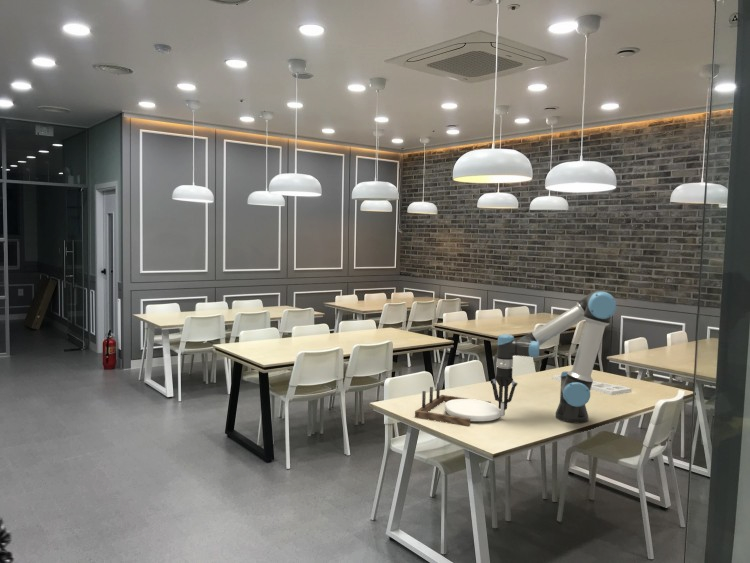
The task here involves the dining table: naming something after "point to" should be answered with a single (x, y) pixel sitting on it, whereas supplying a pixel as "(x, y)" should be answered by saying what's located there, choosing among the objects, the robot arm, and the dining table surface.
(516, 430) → the dining table surface
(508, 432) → the dining table surface
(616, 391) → the holder
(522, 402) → the dining table surface
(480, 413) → the plate
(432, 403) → the plate rack
